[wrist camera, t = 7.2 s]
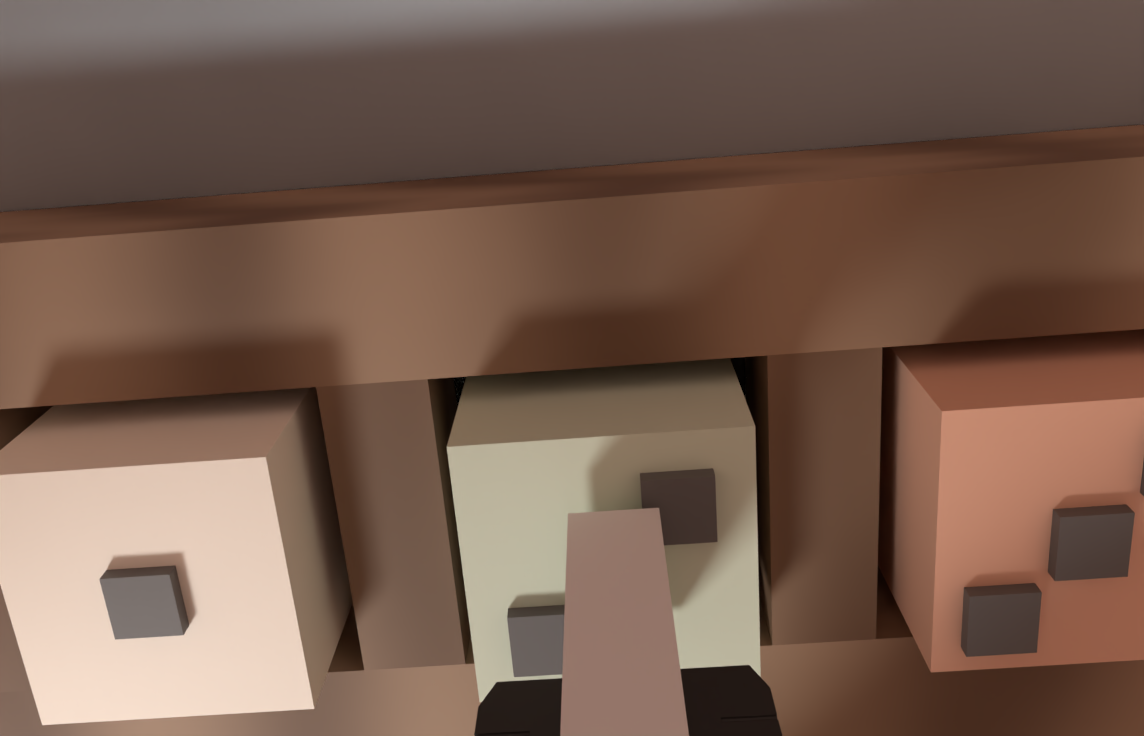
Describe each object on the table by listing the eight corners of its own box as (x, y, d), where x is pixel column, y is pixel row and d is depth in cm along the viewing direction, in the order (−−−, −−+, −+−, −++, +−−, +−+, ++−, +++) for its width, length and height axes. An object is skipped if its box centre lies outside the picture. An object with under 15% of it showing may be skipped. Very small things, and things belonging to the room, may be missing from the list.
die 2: (496, 582, 23) (477, 713, 19) (470, 362, 21) (444, 454, 17) (731, 567, 23) (763, 695, 19) (724, 344, 21) (757, 433, 17)
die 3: (873, 556, 23) (935, 683, 19) (878, 332, 21) (947, 418, 17) (1114, 542, 23) (1228, 665, 19) (1138, 314, 21) (1270, 397, 17)
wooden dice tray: (68, 720, 26) (5, 813, 23) (-77, 217, 21) (-175, 256, 19) (1196, 653, 25) (1275, 741, 22) (1272, 114, 21) (1382, 139, 18)
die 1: (128, 603, 24) (34, 735, 20) (73, 388, 22) (-43, 485, 18) (357, 589, 23) (310, 719, 19) (320, 371, 22) (260, 465, 18)
